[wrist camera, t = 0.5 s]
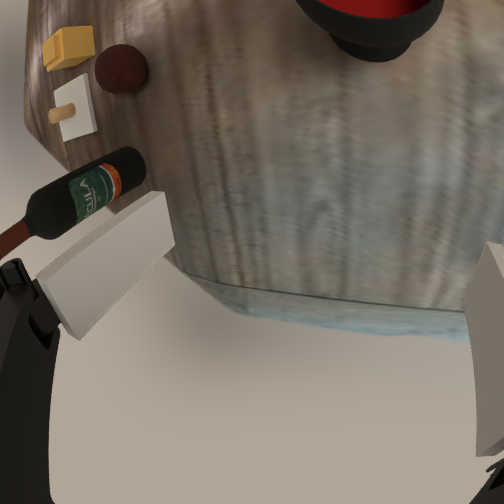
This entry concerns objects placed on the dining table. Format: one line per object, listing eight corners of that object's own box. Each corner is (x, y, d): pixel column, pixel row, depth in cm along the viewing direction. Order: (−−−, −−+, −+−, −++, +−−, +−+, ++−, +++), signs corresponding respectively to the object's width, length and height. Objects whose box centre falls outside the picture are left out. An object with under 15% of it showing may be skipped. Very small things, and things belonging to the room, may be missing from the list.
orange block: (73, 38, 36) (39, 43, 30) (92, 25, 33) (56, 28, 27) (76, 65, 39) (42, 72, 33) (95, 54, 37) (58, 60, 31)
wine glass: (368, 78, 27) (364, 71, 12) (307, 17, 25) (231, -41, 10) (431, 35, 21) (492, -10, 5) (368, -28, 19) (350, -120, 3)
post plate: (57, 90, 44) (34, 97, 39) (87, 73, 39) (61, 78, 35) (67, 140, 50) (45, 149, 46) (97, 130, 46) (73, 140, 41)
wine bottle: (120, 139, 45) (-30, 220, 22) (150, 159, 45) (-7, 256, 22) (113, 172, 50) (-18, 257, 27) (140, 193, 50) (6, 292, 27)
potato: (129, 35, 33) (92, 37, 27) (166, 57, 34) (130, 59, 28) (112, 76, 38) (77, 83, 33) (145, 100, 39) (110, 109, 33)
